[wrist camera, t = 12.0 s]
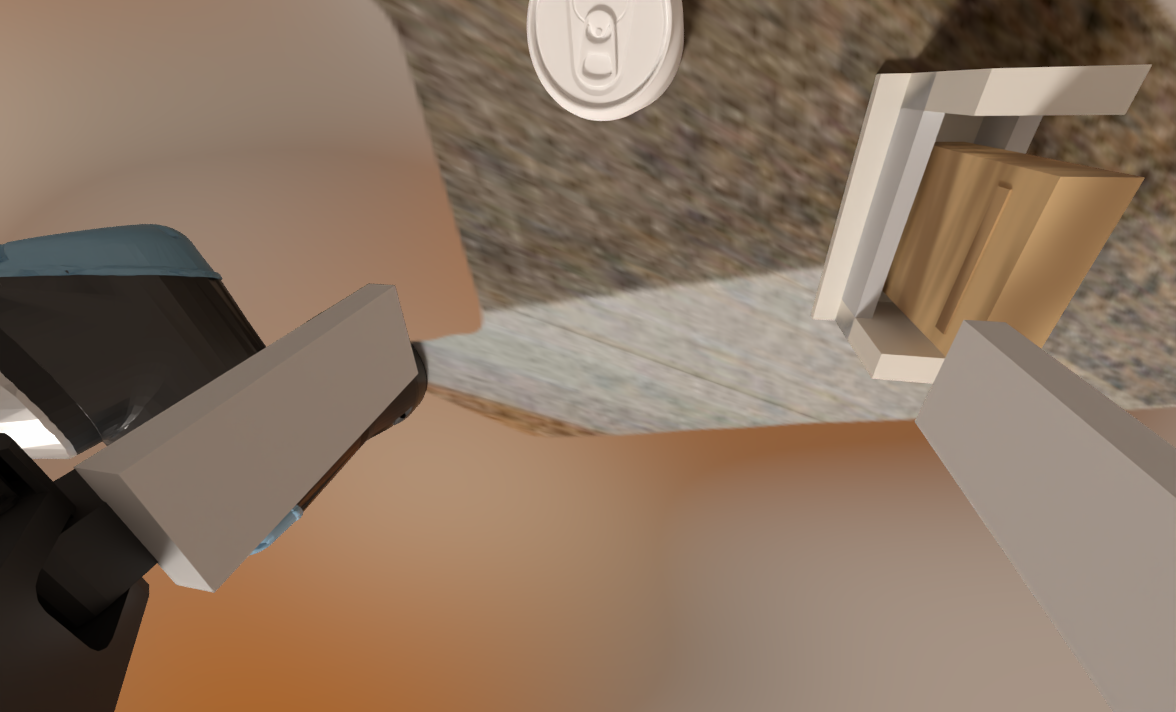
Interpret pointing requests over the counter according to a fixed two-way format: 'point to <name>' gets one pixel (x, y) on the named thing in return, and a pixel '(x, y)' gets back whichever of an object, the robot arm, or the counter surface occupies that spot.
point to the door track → (895, 169)
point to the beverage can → (605, 52)
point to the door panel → (1001, 239)
